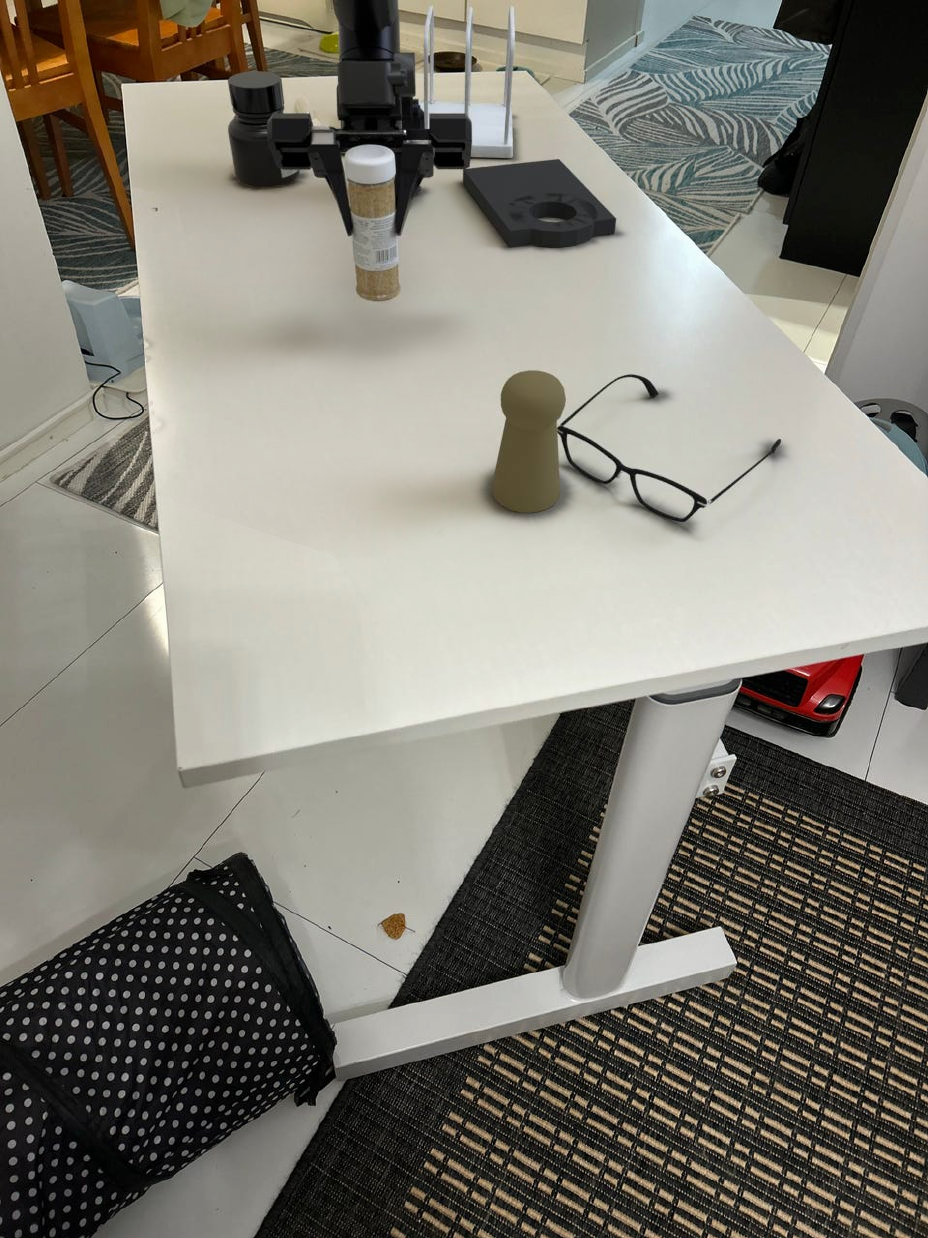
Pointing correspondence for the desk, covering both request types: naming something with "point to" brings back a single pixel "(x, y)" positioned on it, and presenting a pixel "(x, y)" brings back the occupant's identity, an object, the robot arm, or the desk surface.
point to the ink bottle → (255, 128)
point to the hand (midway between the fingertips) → (373, 234)
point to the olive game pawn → (529, 443)
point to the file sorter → (486, 118)
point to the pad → (538, 203)
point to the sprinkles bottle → (373, 221)
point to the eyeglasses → (698, 499)
